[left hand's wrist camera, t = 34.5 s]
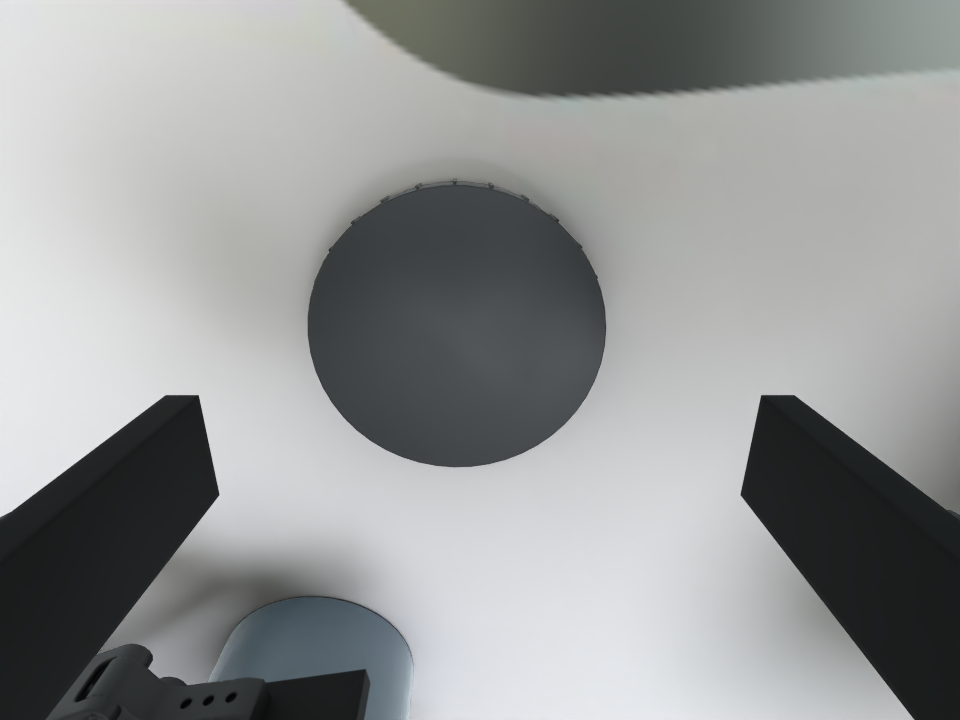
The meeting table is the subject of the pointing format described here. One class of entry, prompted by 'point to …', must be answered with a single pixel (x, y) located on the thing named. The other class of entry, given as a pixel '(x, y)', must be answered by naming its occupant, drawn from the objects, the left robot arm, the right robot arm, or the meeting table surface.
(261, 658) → the jar
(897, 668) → the left robot arm
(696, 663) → the meeting table surface
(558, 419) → the lid
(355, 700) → the right robot arm
